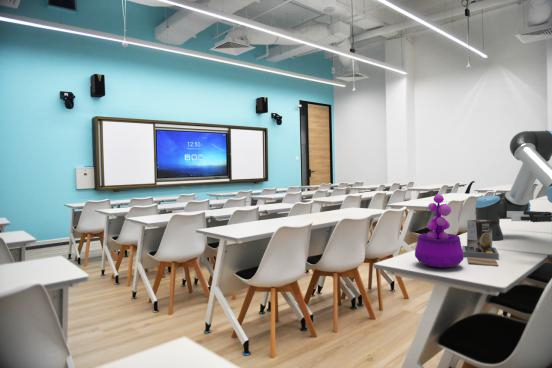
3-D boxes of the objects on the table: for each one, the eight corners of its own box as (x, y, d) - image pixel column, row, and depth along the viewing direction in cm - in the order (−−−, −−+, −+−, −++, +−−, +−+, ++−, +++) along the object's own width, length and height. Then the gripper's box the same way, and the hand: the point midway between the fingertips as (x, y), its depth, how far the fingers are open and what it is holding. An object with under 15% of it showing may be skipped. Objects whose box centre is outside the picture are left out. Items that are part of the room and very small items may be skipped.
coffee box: (478, 257, 179) (478, 221, 178) (466, 254, 185) (466, 220, 184) (492, 255, 182) (493, 220, 181) (480, 252, 188) (481, 218, 187)
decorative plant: (469, 264, 167) (469, 193, 165) (454, 274, 153) (455, 196, 151) (424, 258, 179) (424, 191, 178) (407, 266, 166) (407, 194, 164)
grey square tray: (462, 250, 193) (462, 244, 192) (495, 252, 187) (495, 246, 187) (463, 257, 180) (463, 250, 180) (498, 259, 174) (498, 252, 174)
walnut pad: (467, 258, 178) (467, 256, 178) (495, 260, 173) (495, 258, 173) (468, 264, 168) (468, 262, 168) (498, 266, 163) (498, 264, 163)
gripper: (575, 230, 158) (513, 228, 166) (558, 222, 181) (505, 220, 189) (575, 211, 158) (513, 210, 166) (558, 205, 180) (505, 205, 189)
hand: (509, 215), depth 178 cm, fingers open, 13 cm apart
